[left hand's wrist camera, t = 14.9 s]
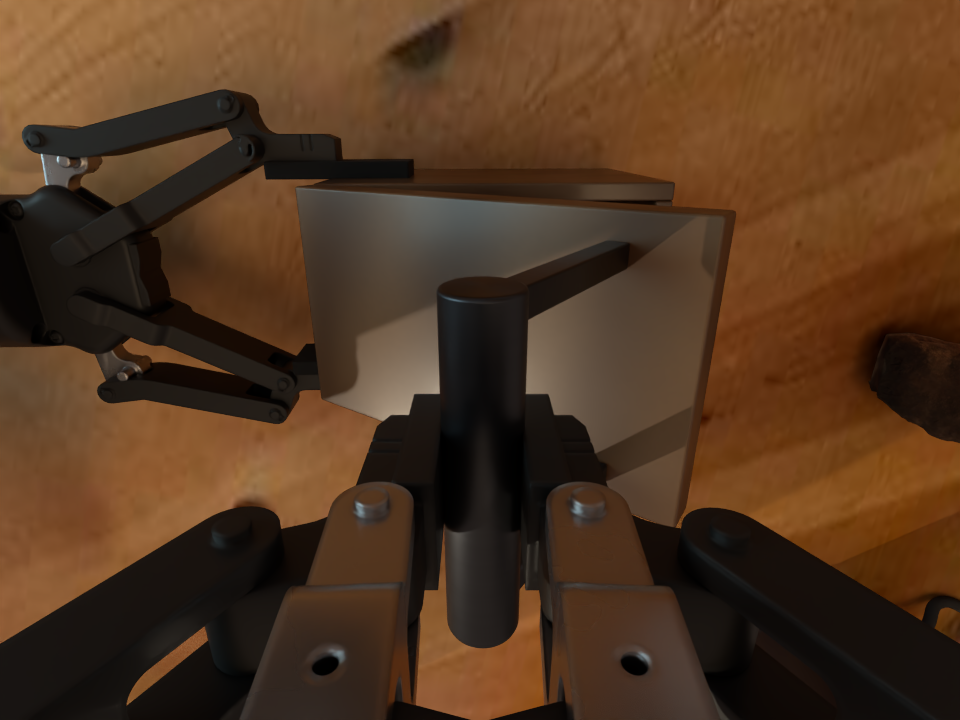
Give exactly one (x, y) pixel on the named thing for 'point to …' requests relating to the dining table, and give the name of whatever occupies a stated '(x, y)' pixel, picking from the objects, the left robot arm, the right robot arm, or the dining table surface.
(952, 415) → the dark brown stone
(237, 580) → the left robot arm
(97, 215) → the right robot arm
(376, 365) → the lid
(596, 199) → the chest
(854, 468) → the dining table surface
